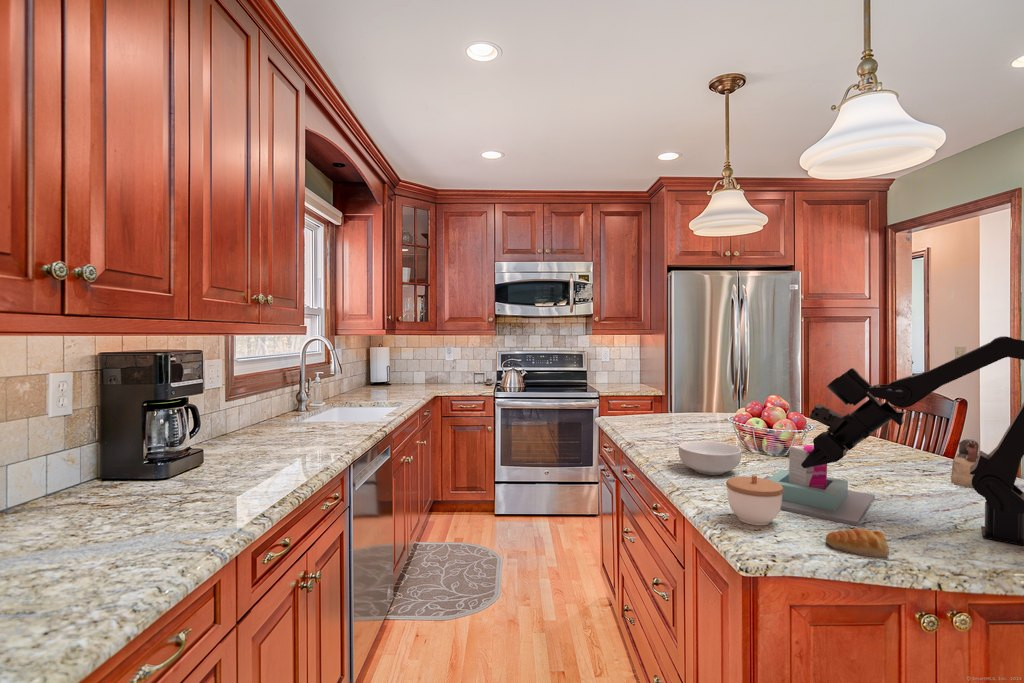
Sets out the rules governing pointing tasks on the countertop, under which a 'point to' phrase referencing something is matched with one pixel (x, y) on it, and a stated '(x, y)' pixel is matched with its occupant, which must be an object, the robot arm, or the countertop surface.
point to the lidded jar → (754, 499)
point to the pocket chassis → (823, 499)
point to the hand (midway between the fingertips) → (807, 462)
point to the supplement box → (805, 469)
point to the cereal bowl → (710, 456)
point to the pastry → (859, 542)
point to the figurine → (964, 463)
